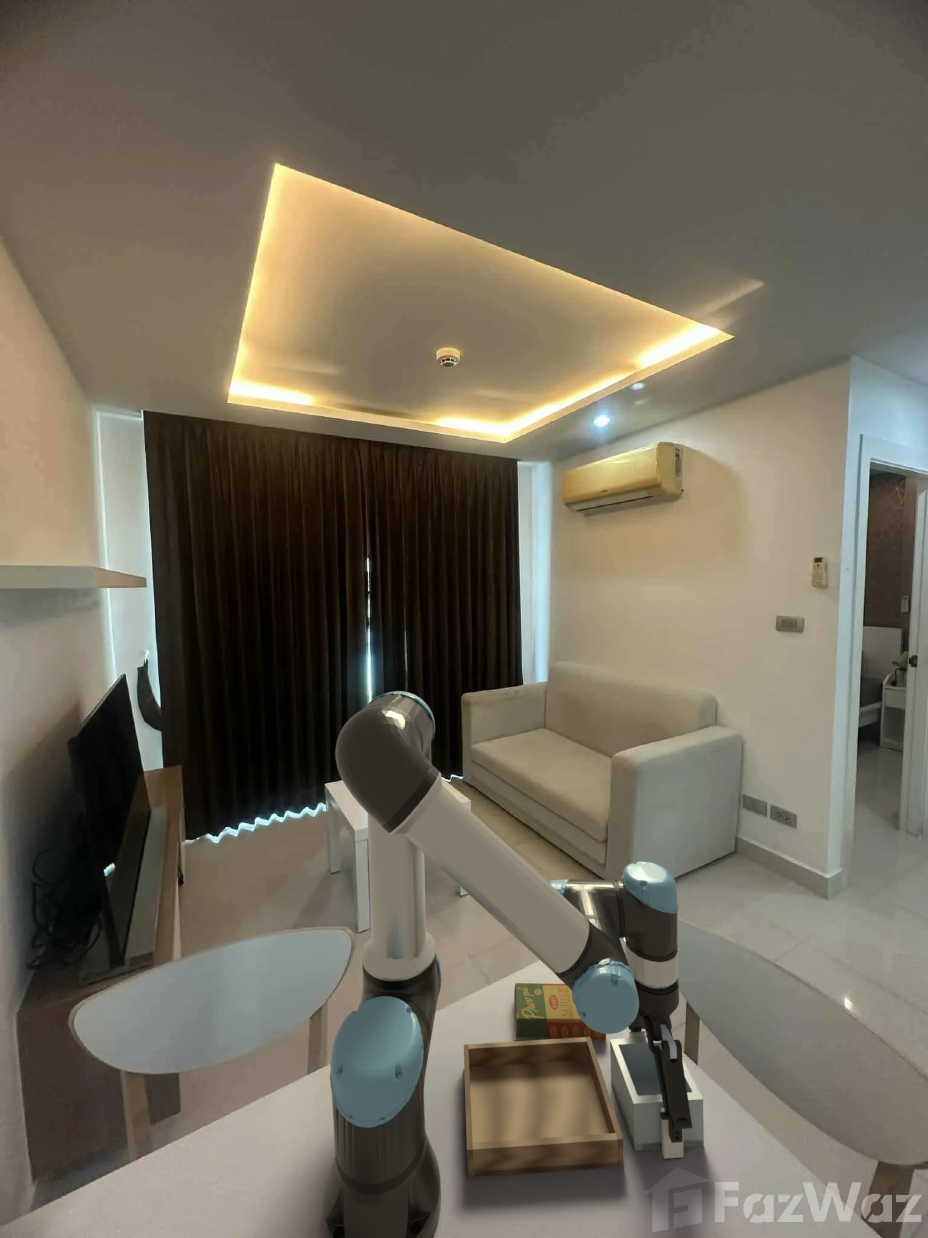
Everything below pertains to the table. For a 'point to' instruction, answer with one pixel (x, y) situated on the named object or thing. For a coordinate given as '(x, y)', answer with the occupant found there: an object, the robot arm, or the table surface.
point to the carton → (549, 1013)
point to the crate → (538, 1108)
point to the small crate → (648, 1095)
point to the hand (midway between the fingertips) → (654, 1110)
